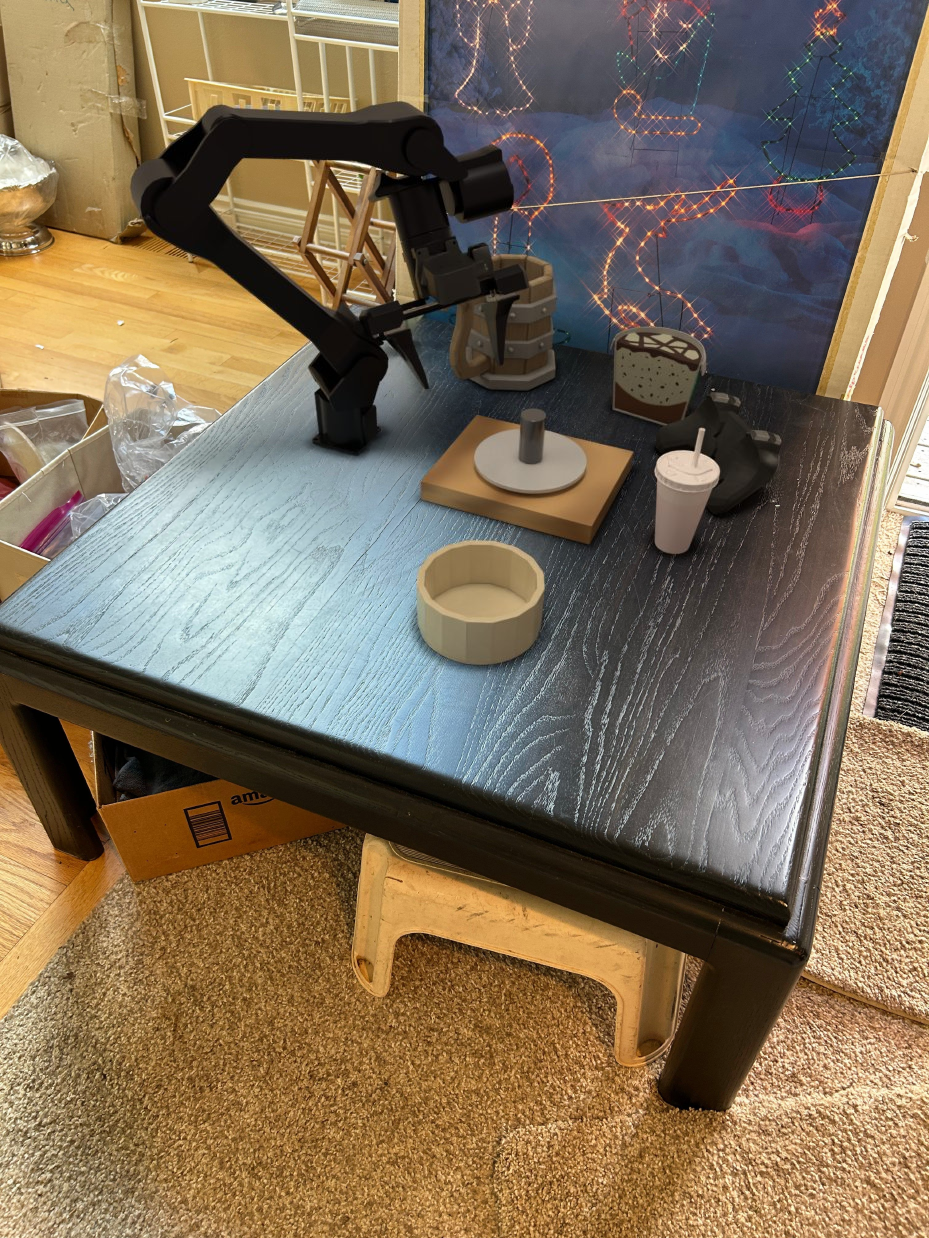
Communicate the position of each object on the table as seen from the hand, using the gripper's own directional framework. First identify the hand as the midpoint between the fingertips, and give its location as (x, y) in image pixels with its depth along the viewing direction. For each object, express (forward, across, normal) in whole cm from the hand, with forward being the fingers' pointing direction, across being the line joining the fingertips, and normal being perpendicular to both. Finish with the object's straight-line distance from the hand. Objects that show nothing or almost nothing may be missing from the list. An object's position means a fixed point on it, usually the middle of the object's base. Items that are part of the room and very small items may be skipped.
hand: (464, 377), depth 103 cm
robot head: (-3, 0, +30) cm, 30 cm away
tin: (+20, -11, -23) cm, 32 cm away
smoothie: (+22, +13, -18) cm, 30 cm away
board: (+13, +3, -4) cm, 14 cm away
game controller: (+19, +24, -8) cm, 32 cm away
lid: (+11, +3, -6) cm, 12 cm away
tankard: (+3, +9, +19) cm, 21 cm away
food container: (+12, +25, +6) cm, 29 cm away
